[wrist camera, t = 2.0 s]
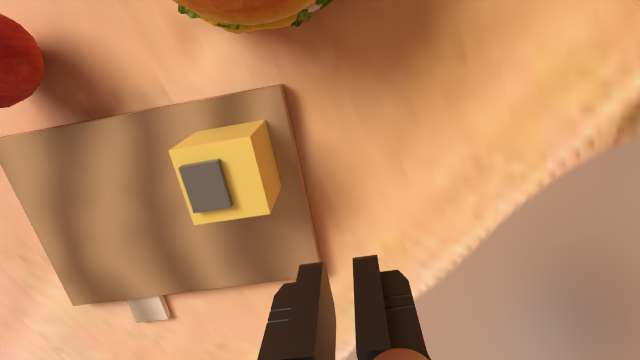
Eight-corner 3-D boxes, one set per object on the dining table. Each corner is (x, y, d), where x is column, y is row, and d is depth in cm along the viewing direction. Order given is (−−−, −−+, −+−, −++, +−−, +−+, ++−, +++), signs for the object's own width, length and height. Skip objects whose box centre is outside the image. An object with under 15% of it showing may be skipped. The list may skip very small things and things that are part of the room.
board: (282, 83, 26) (280, 86, 25) (329, 296, 32) (328, 305, 31) (2, 136, 29) (-12, 140, 27) (95, 323, 35) (87, 332, 34)
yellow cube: (265, 119, 26) (247, 138, 21) (281, 186, 27) (268, 217, 23) (196, 131, 26) (164, 152, 22) (216, 196, 28) (191, 229, 23)
